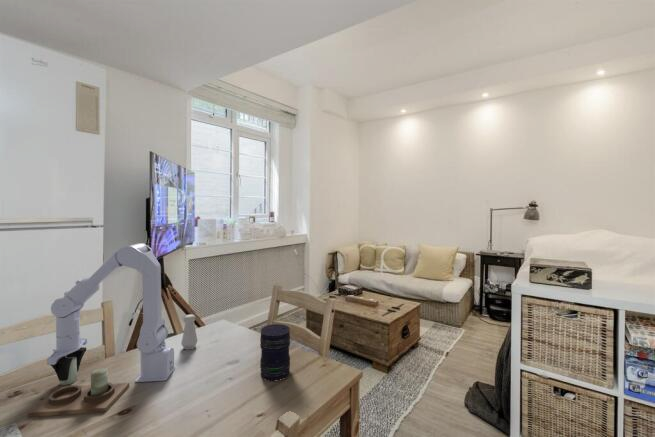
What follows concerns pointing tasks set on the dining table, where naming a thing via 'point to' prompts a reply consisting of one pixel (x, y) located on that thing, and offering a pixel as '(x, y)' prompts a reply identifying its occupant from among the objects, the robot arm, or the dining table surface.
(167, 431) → the dining table surface
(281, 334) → the storage jar
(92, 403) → the peg stand
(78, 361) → the robot arm
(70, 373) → the loose peg
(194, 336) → the salt shaker
